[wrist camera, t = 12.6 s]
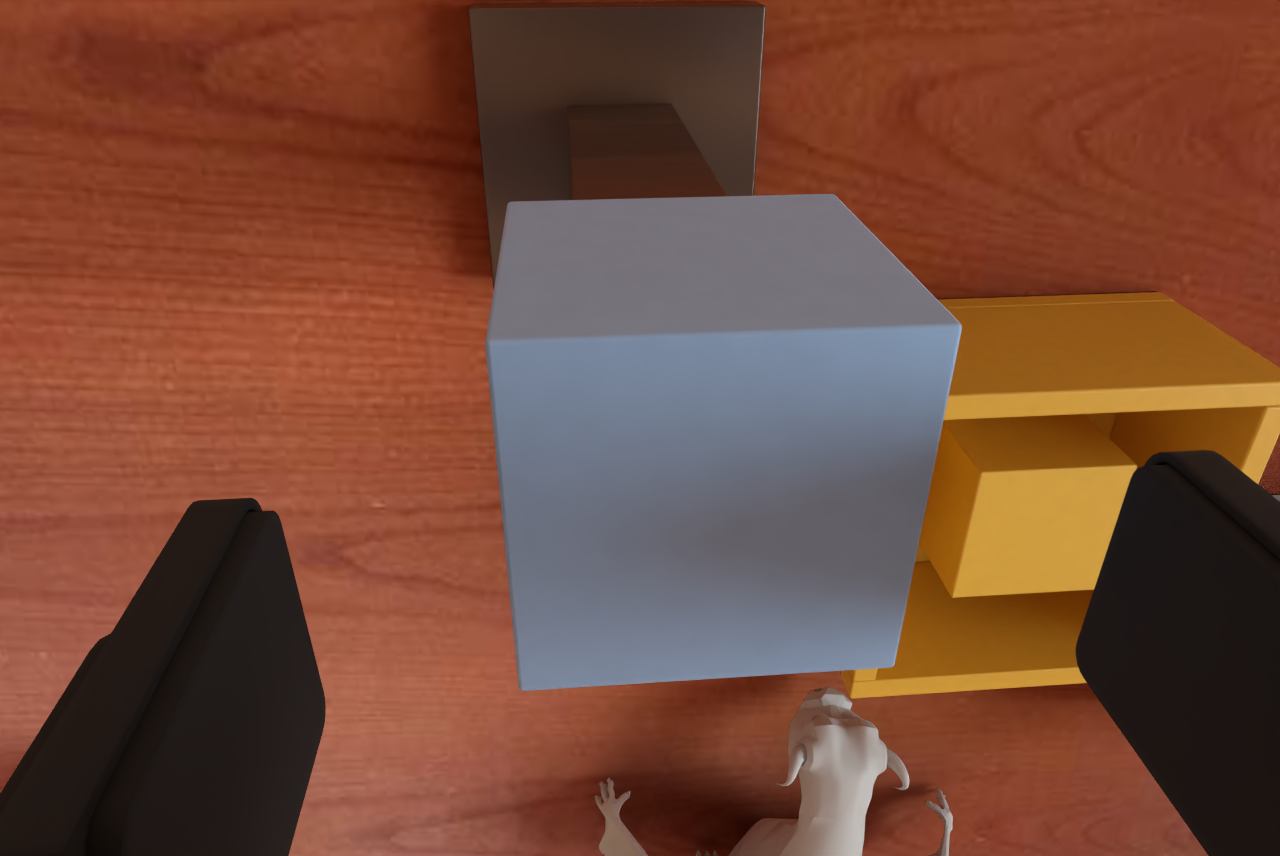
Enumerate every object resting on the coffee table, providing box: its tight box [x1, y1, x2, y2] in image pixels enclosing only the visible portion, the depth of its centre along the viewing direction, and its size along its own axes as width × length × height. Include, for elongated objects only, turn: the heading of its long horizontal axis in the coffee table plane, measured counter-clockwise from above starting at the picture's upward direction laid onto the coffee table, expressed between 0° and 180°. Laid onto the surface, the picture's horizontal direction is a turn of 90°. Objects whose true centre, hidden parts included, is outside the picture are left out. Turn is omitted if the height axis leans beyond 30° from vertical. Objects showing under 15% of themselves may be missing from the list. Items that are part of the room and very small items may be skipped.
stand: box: [468, 2, 766, 290], centre depth 21 cm, size 8×8×14 cm
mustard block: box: [919, 414, 1137, 598], centre depth 30 cm, size 5×5×5 cm
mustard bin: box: [840, 292, 1280, 698], centre depth 30 cm, size 12×12×7 cm
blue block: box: [485, 194, 962, 691], centre depth 12 cm, size 5×5×5 cm
